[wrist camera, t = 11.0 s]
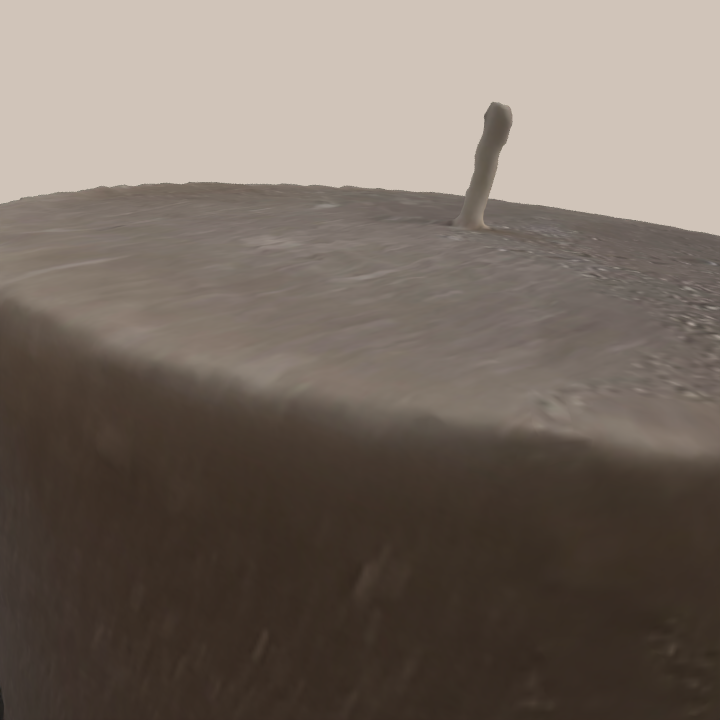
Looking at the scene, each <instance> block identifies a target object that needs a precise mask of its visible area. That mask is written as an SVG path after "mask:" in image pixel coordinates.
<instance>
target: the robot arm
mask: <svg viewBox="0 0 720 720" xmlns="http://www.w3.org/2000/svg"><path fill="white" fill-rule="evenodd" d="M3 718H4V703H3V700H2V693H1V686H0V720H3Z"/></svg>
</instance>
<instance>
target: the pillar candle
mask: <svg viewBox="0 0 720 720" xmlns="http://www.w3.org/2000/svg"><path fill="white" fill-rule="evenodd" d="M484 119H485V122H484V131H483V135H482V138H481V140H480V142H479V144H478V147H477V150H476V154H475V171H474V173H473V177H472V180H471V183H470V187H469V189H468V190H467V191H466V196H459V195H453V194H443V193H435V192H410V191H402V190H385V189H380V188H376V189H369V188H359V187H354V186H344V187H340V188H334V187H328V186H321V185H310V186H301V185H294V184H293V185H292V184H278V185H271V184H245V185H244V184H229V183H228V184H227V183H217V182H214V183H212V182H200V183H195V182H189V183H186V184H171V183H160V184H142V185H138V186H127V185H119V186H115V187H110V188H109V187H105V186H100V187H97V188H94V189H88V190H81V191H77V192H57V193H53V194H48V195H39V196H34V197H25V198H21V199H20V200H16V201H11V202H8V203H3V204H0V686H1V693H2V700H3V703H4V718H3V720H720V236H717V235H712V234H708V233H703V232H696V231H688V230H683V229H679V228H676V227H671V226H664V225H658V224H653V223H648V222H642V221H636V220H629V219H621V218H614V217H610V216H604V215H598V214H590V213H585V212H577V211H571V210H565V209H560V208H554V207H546V206H540V205H529V204H520V203H511V202H506V201H501V200H495V199H488V197H489V193H490V190H491V187H492V184H493V180H494V177H495V173H496V170H497V164H498V157H499V153H500V151H501V149H502V147H503V145H505V144H506V141H507V139H508V135H509V131H510V128H511V126H512V113H511V109H510V107H509V106H507V105H503V104H501V103H496V102H492V103H491V105H490V106H489V108H488V110H487V112H486V113H485V115H484Z"/></svg>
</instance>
